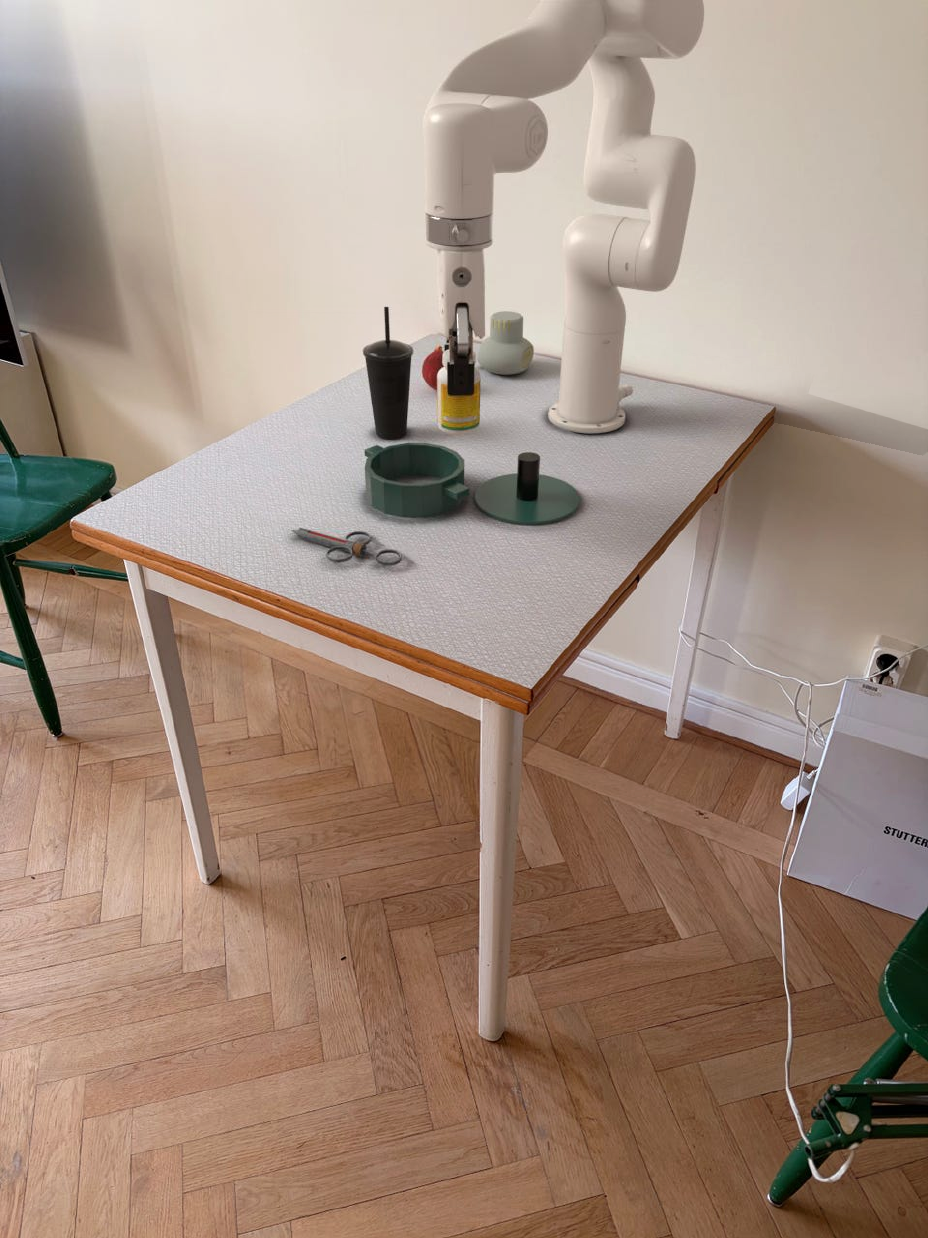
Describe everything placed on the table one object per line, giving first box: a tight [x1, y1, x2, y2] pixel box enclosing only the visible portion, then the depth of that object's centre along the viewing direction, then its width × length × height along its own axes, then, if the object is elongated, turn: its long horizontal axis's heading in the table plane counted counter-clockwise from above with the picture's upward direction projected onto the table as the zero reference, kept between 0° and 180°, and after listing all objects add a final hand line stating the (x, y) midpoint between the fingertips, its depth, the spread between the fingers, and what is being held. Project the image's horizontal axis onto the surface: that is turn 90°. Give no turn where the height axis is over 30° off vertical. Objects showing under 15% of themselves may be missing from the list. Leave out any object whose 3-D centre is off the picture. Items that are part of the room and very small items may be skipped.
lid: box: [474, 451, 581, 526], centre depth 129 cm, size 15×15×7 cm
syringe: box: [281, 526, 403, 567], centre depth 120 cm, size 8×18×2 cm, turn 63°
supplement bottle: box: [436, 350, 482, 436], centre depth 116 cm, size 5×5×10 cm
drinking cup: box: [362, 306, 414, 441], centre depth 145 cm, size 8×8×20 cm
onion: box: [421, 345, 444, 392], centre depth 163 cm, size 6×6×8 cm
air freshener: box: [476, 311, 535, 376], centre depth 171 cm, size 11×8×10 cm
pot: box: [364, 442, 471, 519], centre depth 131 cm, size 14×19×5 cm
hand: (459, 383), depth 116 cm, fingers closed on supplement bottle, 5 cm apart
